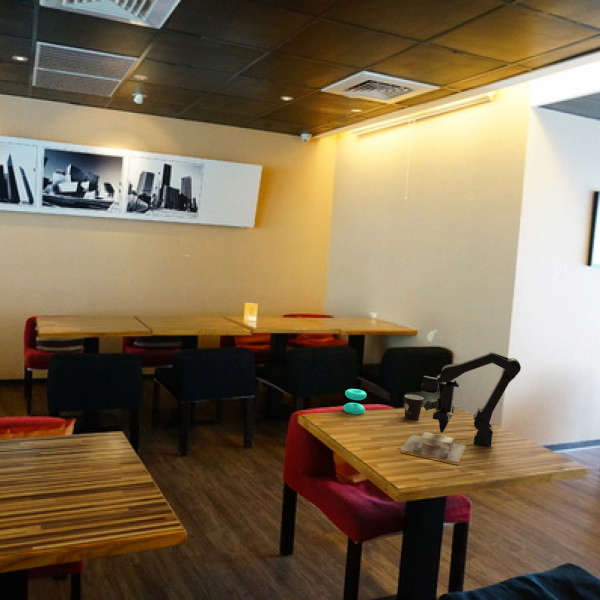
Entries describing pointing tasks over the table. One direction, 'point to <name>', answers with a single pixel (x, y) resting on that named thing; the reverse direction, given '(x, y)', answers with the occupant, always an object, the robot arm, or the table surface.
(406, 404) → the coffee mug
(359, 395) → the donuts
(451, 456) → the bench board
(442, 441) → the maple plate
